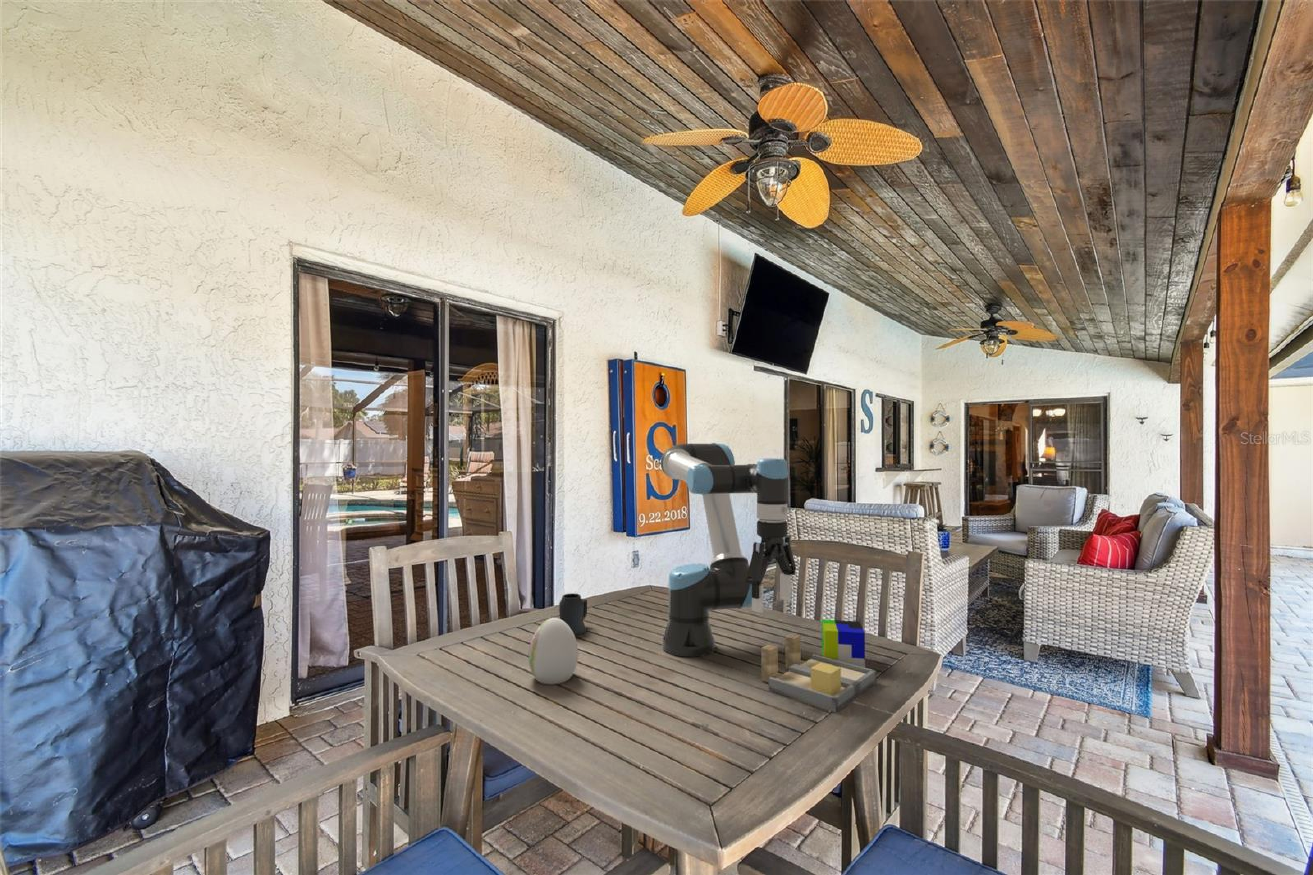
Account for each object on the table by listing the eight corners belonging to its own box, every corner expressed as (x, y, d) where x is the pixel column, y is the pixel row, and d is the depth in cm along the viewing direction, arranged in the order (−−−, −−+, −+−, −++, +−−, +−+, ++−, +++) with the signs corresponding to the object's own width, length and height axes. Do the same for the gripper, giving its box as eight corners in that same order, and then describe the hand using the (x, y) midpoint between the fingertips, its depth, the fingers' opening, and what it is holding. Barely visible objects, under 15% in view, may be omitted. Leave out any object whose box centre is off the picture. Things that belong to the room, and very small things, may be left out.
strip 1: (781, 669, 153) (781, 638, 153) (796, 661, 159) (796, 631, 159) (817, 680, 146) (817, 648, 146) (832, 671, 152) (831, 640, 152)
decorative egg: (548, 665, 157) (548, 609, 157) (587, 673, 151) (587, 615, 151) (518, 682, 146) (518, 621, 146) (559, 691, 140) (559, 628, 140)
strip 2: (756, 682, 145) (756, 650, 145) (773, 673, 150) (773, 642, 150) (830, 706, 132) (830, 670, 132) (845, 695, 137) (845, 661, 137)
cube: (810, 689, 136) (810, 668, 136) (820, 683, 140) (820, 662, 140) (830, 696, 133) (830, 673, 133) (840, 689, 137) (840, 667, 137)
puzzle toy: (864, 671, 153) (864, 632, 153) (824, 668, 155) (824, 630, 155) (859, 657, 163) (859, 621, 163) (822, 655, 165) (821, 619, 165)
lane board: (768, 690, 141) (768, 678, 141) (813, 665, 157) (813, 653, 157) (835, 712, 129) (835, 698, 129) (876, 682, 145) (876, 670, 145)
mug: (574, 637, 179) (574, 600, 179) (550, 633, 183) (550, 597, 184) (596, 627, 190) (596, 592, 190) (573, 623, 194) (573, 588, 194)
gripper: (758, 527, 135) (758, 619, 135) (809, 516, 154) (809, 598, 154) (731, 524, 140) (731, 613, 140) (783, 514, 159) (783, 593, 159)
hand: (771, 605), depth 147 cm, fingers open, 13 cm apart
